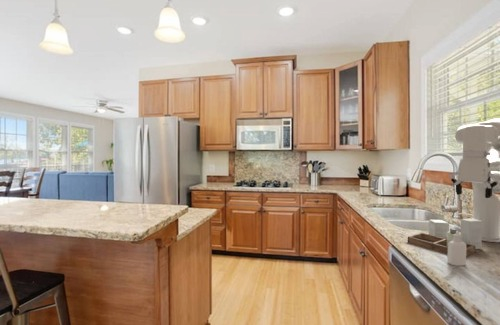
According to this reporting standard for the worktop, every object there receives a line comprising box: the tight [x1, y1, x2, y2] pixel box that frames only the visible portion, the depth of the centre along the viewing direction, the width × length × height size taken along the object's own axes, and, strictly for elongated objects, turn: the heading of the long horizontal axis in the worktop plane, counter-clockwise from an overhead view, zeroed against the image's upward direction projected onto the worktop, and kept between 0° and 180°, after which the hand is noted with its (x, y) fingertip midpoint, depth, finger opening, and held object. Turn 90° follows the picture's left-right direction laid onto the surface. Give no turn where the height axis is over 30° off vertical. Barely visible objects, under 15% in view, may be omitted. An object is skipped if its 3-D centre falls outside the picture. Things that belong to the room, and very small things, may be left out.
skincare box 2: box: [460, 217, 483, 250], centre depth 110 cm, size 6×4×12 cm
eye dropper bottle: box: [447, 230, 467, 267], centre depth 94 cm, size 4×6×12 cm
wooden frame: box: [407, 232, 476, 257], centre depth 111 cm, size 12×20×2 cm, turn 30°
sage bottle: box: [446, 228, 461, 247], centre depth 107 cm, size 4×4×9 cm
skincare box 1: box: [428, 219, 450, 239], centre depth 126 cm, size 6×6×7 cm
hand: (472, 195), depth 109 cm, fingers open, 9 cm apart
